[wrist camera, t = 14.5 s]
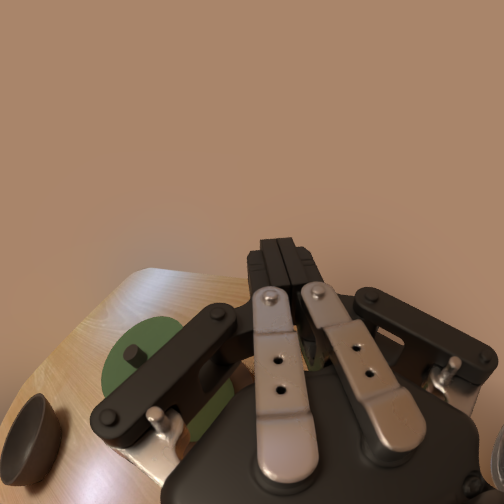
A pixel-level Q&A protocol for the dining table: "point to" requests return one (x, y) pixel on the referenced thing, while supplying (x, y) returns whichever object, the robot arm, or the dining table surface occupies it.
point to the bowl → (30, 444)
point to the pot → (140, 350)
